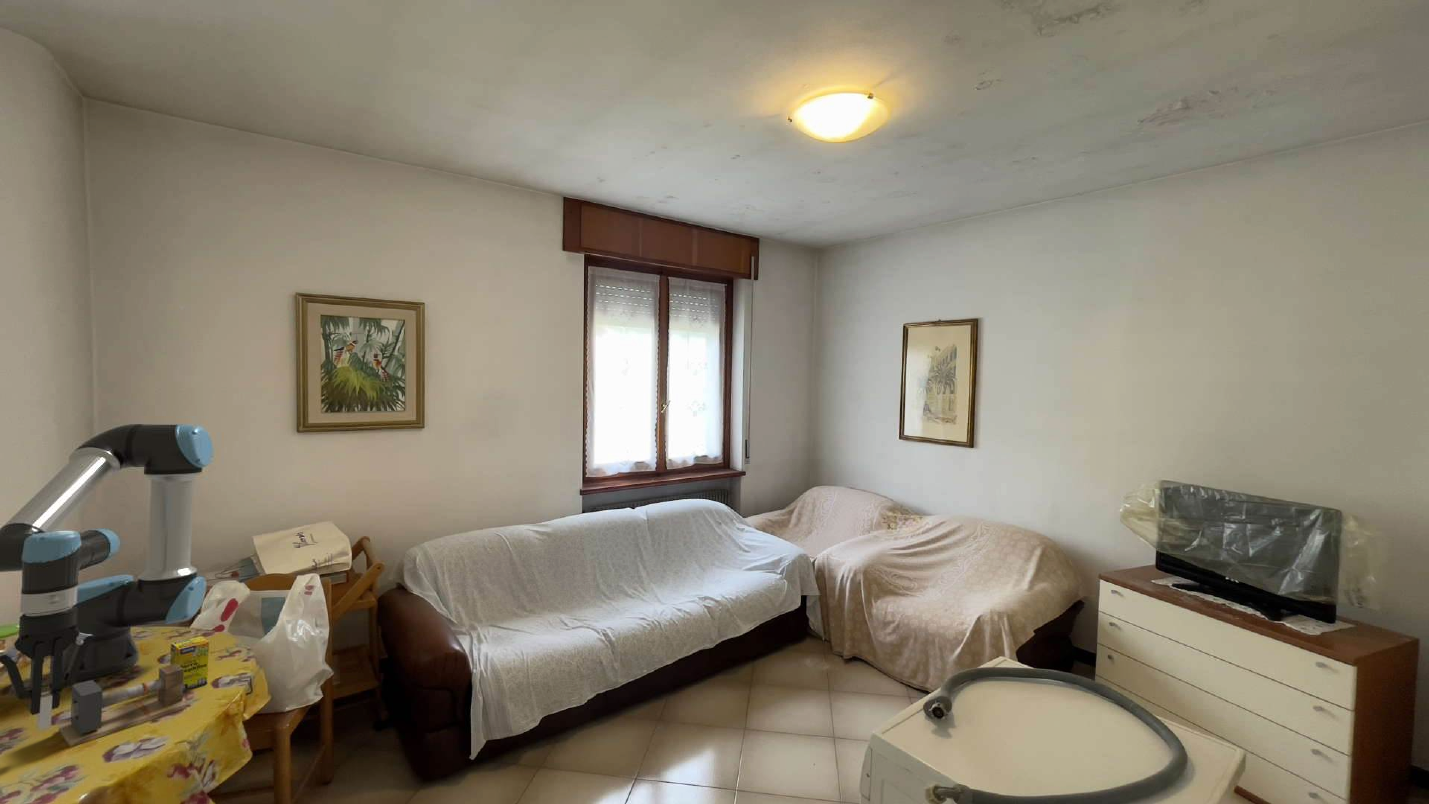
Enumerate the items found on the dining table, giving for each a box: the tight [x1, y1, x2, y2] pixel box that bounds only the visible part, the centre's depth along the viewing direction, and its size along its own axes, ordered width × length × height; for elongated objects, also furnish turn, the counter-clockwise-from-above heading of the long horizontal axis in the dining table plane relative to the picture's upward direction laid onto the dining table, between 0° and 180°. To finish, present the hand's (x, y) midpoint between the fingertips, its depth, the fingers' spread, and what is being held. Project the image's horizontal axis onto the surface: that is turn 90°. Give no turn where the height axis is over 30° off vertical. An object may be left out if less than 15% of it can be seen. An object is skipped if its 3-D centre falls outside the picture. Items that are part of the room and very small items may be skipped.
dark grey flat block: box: [70, 679, 103, 734], centre depth 121 cm, size 3×8×8 cm, turn 58°
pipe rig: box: [58, 664, 187, 748], centre depth 126 cm, size 18×10×8 cm, turn 148°
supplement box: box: [169, 635, 210, 692], centre depth 141 cm, size 6×6×11 cm
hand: (43, 727), depth 113 cm, fingers closed
